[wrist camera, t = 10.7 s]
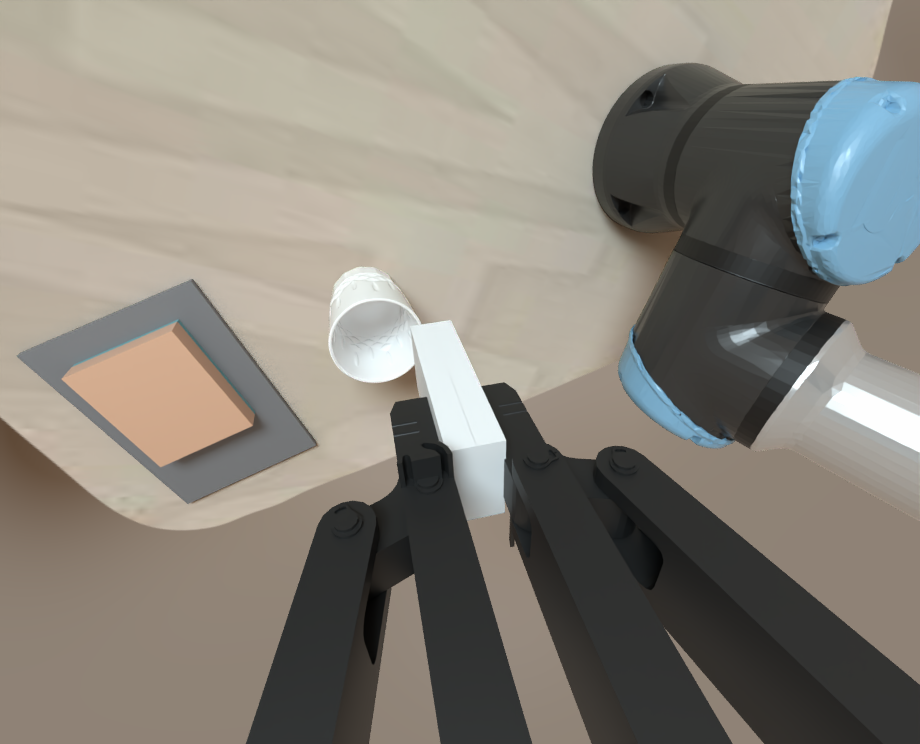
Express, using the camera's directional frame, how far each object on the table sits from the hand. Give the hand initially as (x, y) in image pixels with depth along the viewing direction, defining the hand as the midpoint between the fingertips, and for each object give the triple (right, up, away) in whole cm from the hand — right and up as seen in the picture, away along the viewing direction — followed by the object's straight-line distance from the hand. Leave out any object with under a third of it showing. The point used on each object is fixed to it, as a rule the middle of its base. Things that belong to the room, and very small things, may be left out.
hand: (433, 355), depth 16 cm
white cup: (-9, +7, +28) cm, 30 cm away
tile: (-25, -8, +29) cm, 39 cm away
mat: (-27, -4, +29) cm, 39 cm away
